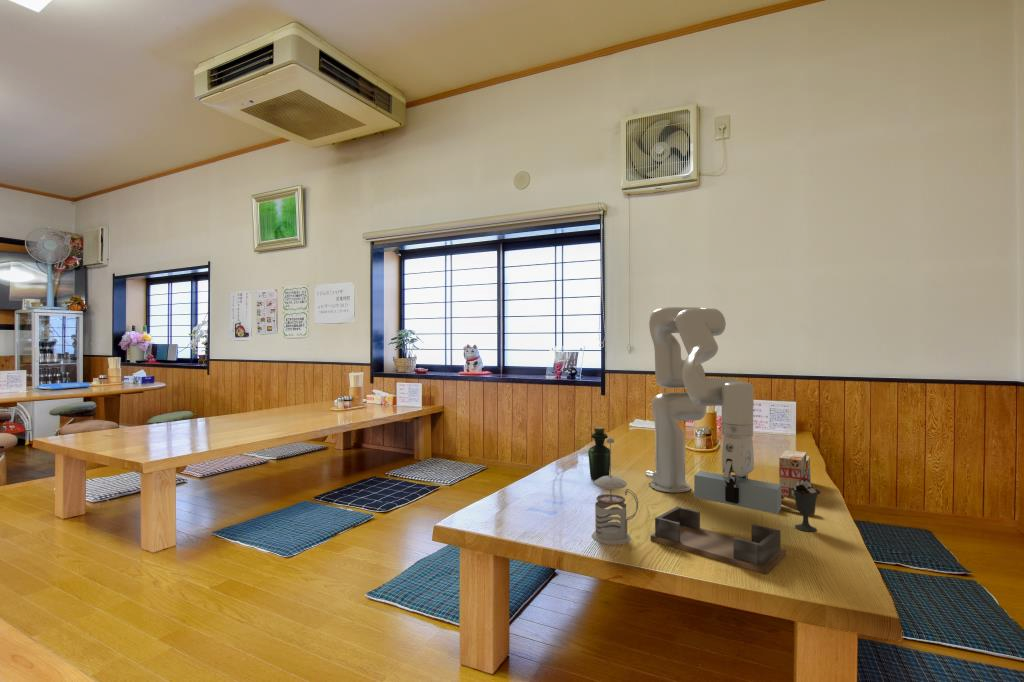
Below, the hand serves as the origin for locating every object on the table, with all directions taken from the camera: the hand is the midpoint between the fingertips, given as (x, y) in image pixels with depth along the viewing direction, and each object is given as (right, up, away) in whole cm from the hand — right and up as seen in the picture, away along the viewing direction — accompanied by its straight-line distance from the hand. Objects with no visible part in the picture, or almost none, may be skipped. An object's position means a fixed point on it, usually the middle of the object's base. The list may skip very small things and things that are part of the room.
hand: (736, 498), depth 133 cm
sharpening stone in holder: (-10, -8, -11) cm, 17 cm away
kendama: (+20, -8, +17) cm, 27 cm away
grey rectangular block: (0, -1, 0) cm, 1 cm away
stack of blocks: (+35, -8, +36) cm, 51 cm away
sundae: (+18, -8, +1) cm, 20 cm away
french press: (-32, -9, -4) cm, 34 cm away
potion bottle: (-27, -8, +51) cm, 58 cm away
